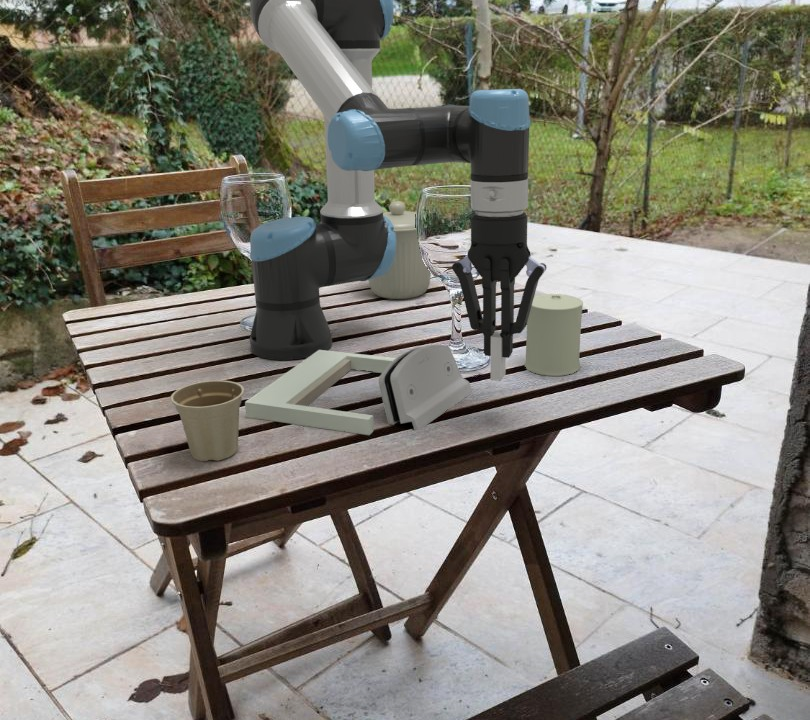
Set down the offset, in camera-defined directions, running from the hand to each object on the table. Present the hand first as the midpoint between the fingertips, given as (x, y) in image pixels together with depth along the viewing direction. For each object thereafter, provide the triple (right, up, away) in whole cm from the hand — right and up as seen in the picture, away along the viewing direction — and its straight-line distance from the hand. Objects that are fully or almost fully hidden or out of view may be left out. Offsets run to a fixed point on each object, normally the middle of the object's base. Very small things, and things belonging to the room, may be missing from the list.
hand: (498, 377), depth 109 cm
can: (+12, +1, +20) cm, 23 cm away
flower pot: (-39, -10, -6) cm, 41 cm away
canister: (-15, +18, +66) cm, 70 cm away
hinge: (-10, -5, +7) cm, 13 cm away
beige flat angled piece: (-23, -3, +11) cm, 26 cm away
